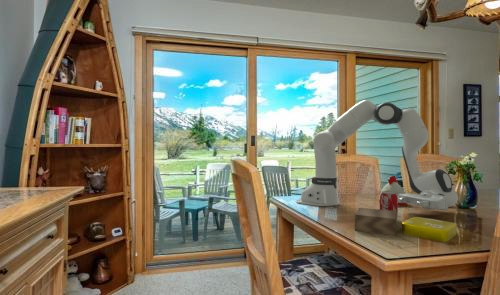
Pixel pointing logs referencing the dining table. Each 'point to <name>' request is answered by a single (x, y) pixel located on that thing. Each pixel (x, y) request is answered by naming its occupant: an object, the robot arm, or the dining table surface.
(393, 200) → the soda can
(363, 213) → the walnut block
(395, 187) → the red white rounded piece
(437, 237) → the element tile
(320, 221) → the dining table surface
